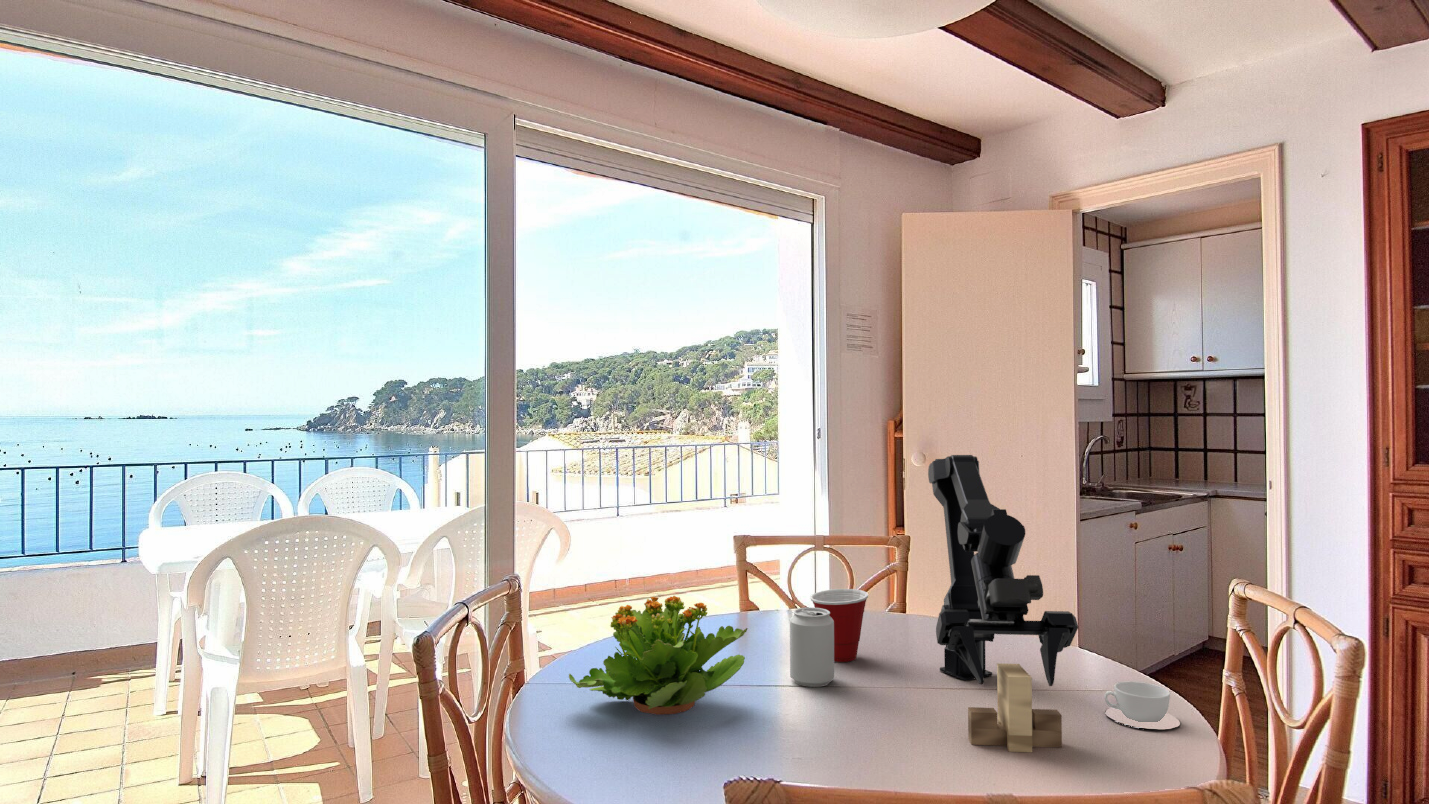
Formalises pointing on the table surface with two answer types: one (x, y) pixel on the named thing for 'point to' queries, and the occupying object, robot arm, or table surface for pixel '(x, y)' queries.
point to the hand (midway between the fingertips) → (1016, 683)
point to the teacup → (1140, 701)
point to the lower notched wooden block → (991, 733)
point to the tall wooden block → (1015, 706)
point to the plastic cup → (843, 619)
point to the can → (812, 647)
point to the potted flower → (663, 658)
